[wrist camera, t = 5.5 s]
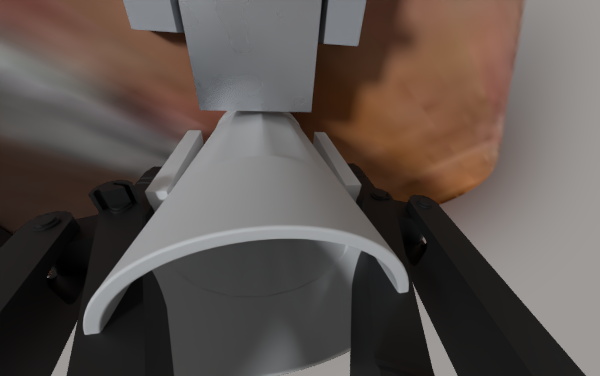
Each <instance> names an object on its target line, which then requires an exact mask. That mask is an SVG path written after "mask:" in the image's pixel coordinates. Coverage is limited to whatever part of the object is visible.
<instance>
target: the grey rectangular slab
mask: <svg viewBox="0 0 600 376" xmlns="http://www.w3.org/2000/svg"><path fill="white" fill-rule="evenodd" d="M178 1H179V6H180V11H181V16H182V21H183V26H184V31H185V37H186V42H187V47H188V52H189V57H190V62H191V67H192V72H193V77H194V82H195V87H196V92H197V97H198V102H199V107H200V110H227V111H279V112H311V109H312V98H313V88H314V77H315V66H316V56H317V45H318V34H319V24H320V13H321V2H322V0H178Z"/></svg>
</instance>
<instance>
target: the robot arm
mask: <svg viewBox="0 0 600 376" xmlns="http://www.w3.org/2000/svg"><path fill="white" fill-rule="evenodd" d="M203 146H204V143H203V138H202V133H201V130H188V131H187V133H186V134H185V135H184V137H183V138H182V140H181V141H180V143H179V144H178V145H177V147H176V148H175V150H174V151H173V153H172V154H171V155H170V157H169V158H168V160H167V161H166V162H165V164H164V165H163V167H153V168H151V169H149V170H148V171H146V172H145V173H144V174H143V176H142V177H141V179H139V181H138V182H137V184H135V186H133V184H132V182H129V181H125V180H118V181H111V182H107V183H104V184H102V185H99V186H97V187H96V188H94V189H93V190H91V192H90V193H89V196H90V198H91V200H92V201H93V203H94V205H95V206H96V208H97V209H98V211H99V214H98V215H94V216H89V217H85V218H80V219H76V220H75V218H74V217H73V216H72V214H71V213H69V212H66V211H56V212H51V213H46V214H44V215H40V216H37V217H36V218H34V219H32V220H30V221H28V222H27V223H26V224H24V225H23V226H22V227H21V228H20V229H19V230H18V231H17V232H16V233H15V234H14V235H13V236H12V235H10V234H9V233H8V232H6V231H5V230H3V229H2V228H0V376H51V374H52V372H53V370H54V368H55V366H56V364H57V362H58V360H59V358H60V356H61V354H62V351H63V349H64V347H65V345H66V343H67V341H68V339H69V337H70V334H71V333H72V330H73V329H74V326H75V324H76V322H77V326H76V331H75V336H74V342H73V346H72V351H71V356H70V361H69V367H68V372H67V376H174V369H173V360H172V350H171V341H170V331H169V322H168V312H167V306H166V303H165V300H164V296H163V293H162V291H161V288H160V285H159V283H158V281H157V279H156V277H155V275H154V273H153V272H152V270H151V271H149V272H148V273H146V274H144V275H142V276H141V277H139V278H138V279H136V280H135V281H133V282H132V283H131V284H130V286H129V287H128V289H127V291H126V292H125V294H124V296H123V297H122V299H121V301H120V302H119V304H118V305H117V307H116V309H115V310H114V312H113V314H112V315H111V317H110V319H109V320H108V322H107V324H106V325H105V327H104V329H103V330H102V331H101V332H100V333H96V334H88V335H85V334H84V330H83V318H84V314H85V310H86V308H87V305H88V303H89V302H90V300H91V298H92V297H93V295H94V294H95V292H96V291H97V290H98V288H99V287H100V286H101V284H102V283H103V282H104V280H105V279H106V278H107V276H108V275H109V274H110V272H111V271H112V270H113V268H114V267H115V266H116V264H117V263H118V262H119V260H120V259H121V258H122V256H123V255H124V254H125V252H126V251H127V250H128V248H129V247H130V246H131V244H132V243H133V242H134V240H135V239H136V238H137V236H138V235H139V234H140V232H141V231H142V230H143V228H144V227H145V226H146V224H147V223H148V222H149V220H150V219H151V218H152V216H153V215H154V214H155V212H156V211H157V209H158V208H159V207H160V205H161V204H162V203H163V201H164V200H165V199H166V197H167V196H168V195H169V193H170V192H171V191H172V189H173V188H174V186H175V185H176V184H177V182H178V181H179V179H180V178H181V176H182V175H183V174H184V172H185V171H186V169H187V168H188V167H189V165H190V164H191V162H192V161H193V160H194V158H195V157H196V155H197V154H198V153H199V151H200V150H201V148H202V147H203ZM313 146H314V147H315V149H316V150H317V151H318V153H319V154H320V155H321V157H322V158H323V159H324V161H325V162H326V164H327V165H328V166H329V168H330V169H331V170H332V172H333V173H334V174H335V176H336V177H337V179H338V180H339V181H340V183H341V184H342V185H343V187H344V188H345V189H346V191H347V192H348V193H349V195H350V196H351V197H352V199H353V200H354V201H355V202H356V204H357V205H358V206H359V208H360V209H361V210H362V212H363V213H364V214H365V215H366V217H367V218H368V219H369V221H370V222H371V223H372V225H373V226H374V227H375V229H376V230H377V231H378V232H379V234H380V235H381V236H382V238H383V239H384V240H385V242H386V243H387V244H388V246H389V247H390V248H391V249H392V251H393V252H394V253H395V255H396V256H397V257H398V259H399V260H400V261H401V263H402V264H403V266H404V267H405V270H406V272H407V275H408V280H409V290H408V292H404V293H399V292H397V290H396V289H395V287H394V286H393V284H392V282H391V281H390V279H389V278H388V276H387V275H386V273H385V271H384V270H383V268H382V267H381V265H380V264H379V262H378V261H377V259H376V257H374V256H372V255H370V254H368V253H366V252H364V251H361V253H360V255H359V257H358V260H357V264H356V267H355V272H354V276H353V281H352V300H351V352H350V354H351V355H350V376H435V375H434V372H433V369H432V365H431V360H430V356H429V352H428V348H427V343H426V339H425V335H424V330H423V326H422V322H421V318H420V313H419V309H418V305H417V301H416V296H415V292H414V288H413V284H414V286H415V288H416V290H417V292H418V295H419V297H420V299H421V301H422V303H423V305H424V307H425V309H426V311H427V313H428V315H429V317H430V319H431V321H432V323H433V326H434V328H435V330H436V332H437V334H438V336H439V338H440V340H441V342H442V344H443V346H444V348H445V350H446V352H447V354H448V357H449V358H450V361H451V362H452V365H453V367H454V369H455V371H456V373H457V375H458V376H586V375H585V374H584V373H583V372H582V371H581V370H580V368H579V367H578V366H577V365H576V364H575V363H574V362H573V360H572V359H571V358H570V357H569V356H568V355H567V353H566V352H565V351H564V350H563V349H562V348H561V346H560V345H559V344H558V343H557V342H556V341H555V339H554V338H553V337H552V336H551V335H550V334H549V332H547V330H546V329H545V328H544V327H543V326H542V324H541V323H540V322H539V321H538V320H537V319H536V317H535V316H534V315H533V314H532V313H531V312H530V311H529V309H528V308H527V307H526V306H525V305H524V304H523V303H522V301H521V300H520V299H519V298H518V297H517V295H516V294H515V293H514V292H513V291H512V290H511V288H510V287H509V286H508V285H507V284H506V283H505V281H504V280H503V279H502V278H501V277H500V276H499V275H498V273H497V272H496V271H495V270H494V269H493V268H492V266H491V265H490V264H489V263H488V262H487V261H486V259H485V258H484V257H483V256H482V255H481V254H480V253H479V251H478V250H477V249H476V248H475V247H474V246H473V245H472V243H471V242H470V241H469V240H468V239H467V237H466V236H465V235H464V234H463V233H462V232H461V231H460V229H459V228H458V227H457V226H456V225H455V224H454V222H453V221H452V220H451V219H450V218H449V217H448V215H447V214H446V213H445V212H444V211H443V210H442V209H441V207H440V206H439V205H438V204H437V203H436V202H435V201H434V200H432V199H430V198H428V197H425V196H421V195H413V196H411V197H410V199H409V201H408V202H402V201H396V200H393V198H392V196H391V195H390V194H389V193H388V192H386V191H384V190H381V189H377V188H375V187H374V186H373V184H372V183H371V182H370V180H369V179H368V178H367V177H366V175H365V174H364V173H363V171H362V170H361V169H360V168H359V167H358V166H356V165H355V164H347V163H346V162H345V160H344V159H343V158H342V156H341V155H340V153H339V152H338V150H337V149H336V147H335V146H334V145H333V143H332V142H331V140H330V139H329V137H328V136H327V134H326V133H325V132H314V140H313ZM423 237H424V238H425V239H426V242H427V243H426V244H425V243H424V242H423V240H422V238H423ZM51 269H52V270H53V273H52V274H51V276H50V277H49V278H47V276H48V273H49V271H50V270H51ZM412 282H413V283H412ZM77 320H78V321H77Z"/></svg>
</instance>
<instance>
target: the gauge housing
mask: <svg viewBox="0 0 600 376" xmlns="http://www.w3.org/2000/svg"><path fill="white" fill-rule="evenodd" d="M123 2H124V5H125V8H126V11H127V15H128V18H129V21H130V24H131V27H132V29H138V30H151V31H165V32H183V33H185V31H184V26H183V21H182V16H181V11H180V6H179V1H178V0H123ZM365 5H366V0H322V2H321V13H320V24H319V34H318V43H323V44H335V45H348V46H358V43H359V38H360V32H361V27H362V22H363V16H364V11H365Z"/></svg>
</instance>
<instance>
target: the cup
mask: <svg viewBox="0 0 600 376" xmlns="http://www.w3.org/2000/svg"><path fill="white" fill-rule="evenodd" d="M361 251H364V252H366V253H368V254H370V255H372V256H374V257H376V259H377V261H378V262H379V264H380V265H381V267H382V268H383V270H384V271H385V273H386V275H387V276H388V278H389V279H390V281H391V282H392V284H393V286H394V287H395V289H396V290H397V292H399V293H404V292H408V290H409V280H408V275H407V272H406V270H405V267H404V266H403V264H402V263H401V261H400V260H399V259H398V257H397V256H396V255H395V253H394V252H393V251H392V249H391V248H390V247H389V246H388V244H387V243H386V242H385V240H384V239H383V238H382V236H381V235H380V234H379V232H378V231H377V230H376V229H375V227H374V226H373V225H372V223H371V222H370V221H369V219H368V218H367V217H366V215H365V214H364V213H363V212H362V210H361V209H360V208H359V206H358V205H357V204H356V202H355V201H354V200H353V199H352V197H351V196H350V195H349V193H348V192H347V191H346V189H345V188H344V187H343V185H342V184H341V183H340V181H339V180H338V179H337V177H336V176H335V174H334V173H333V172H332V170H331V169H330V168H329V166H328V165H327V164H326V162H325V161H324V159H323V158H322V157H321V155H320V154H319V153H318V151H317V150H316V149H315V147H314V146H313V144H312V143H311V142H310V140H309V139H308V138H307V136H306V135H305V134H304V132H303V131H302V129H301V127H300V125H299V123H298V122H297V120H296V119H295V118H294V116H293V115H292V114H291V113H290V112H279V111H227V112H226V113H225V114H224V115H223V116H222V118H221V119H220V121H219V122H218V124H217V127H216V129H215V130H214V132H213V133H212V134H211V136H210V137H209V139H208V140H207V141H206V143H205V144H204V146H203V147H202V148H201V150H200V151H199V153H198V154H197V155H196V157H195V158H194V160H193V161H192V162H191V164H190V165H189V167H188V168H187V169H186V171H185V172H184V174H183V175H182V176H181V178H180V179H179V181H178V182H177V184H176V185H175V186H174V188H173V189H172V191H171V192H170V193H169V195H168V196H167V197H166V199H165V200H164V201H163V203H162V204H161V205H160V207H159V208H158V209H157V211H156V212H155V214H154V215H153V216H152V218H151V219H150V220H149V222H148V223H147V224H146V226H145V227H144V228H143V230H142V231H141V232H140V234H139V235H138V236H137V238H136V239H135V240H134V242H133V243H132V244H131V246H130V247H129V248H128V250H127V251H126V252H125V254H124V255H123V256H122V258H121V259H120V260H119V262H118V263H117V264H116V266H115V267H114V268H113V270H112V271H111V272H110V274H109V275H108V276H107V278H106V279H105V280H104V282H103V283H102V284H101V286H100V287H99V288H98V290H97V291H96V292H95V294H94V295H93V297H92V298H91V300H90V302H89V303H88V305H87V308H86V310H85V314H84V318H83V330H84V334H85V335H88V334H96V333H100V332H101V331H102V330H103V329H104V327H105V325H106V324H107V322H108V320H109V319H110V317H111V315H112V314H113V312H114V310H115V309H116V307H117V305H118V304H119V302H120V301H121V299H122V297H123V296H124V294H125V292H126V291H127V289H128V287H129V286H130V284H131V283H132V282H133V281H135V280H136V279H138V278H139V277H141V276H142V275H144V274H146V273H148V272H149V271H151V270H152V272H153V273H154V275H155V277H156V279H157V281H158V283H159V285H160V288H161V291H162V293H163V296H164V300H165V303H166V306H167V312H168V322H169V331H170V341H171V350H172V360H173V369H174V376H279V375H283V374H288V373H291V372H295V371H299V370H302V369H306V368H309V367H312V366H315V365H318V364H321V363H324V362H326V361H329V360H331V359H334V358H336V357H338V356H341V355H343V354H345V353H347V352H349V351H351V300H352V281H353V276H354V272H355V267H356V264H357V260H358V257H359V255H360V253H361Z"/></svg>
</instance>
